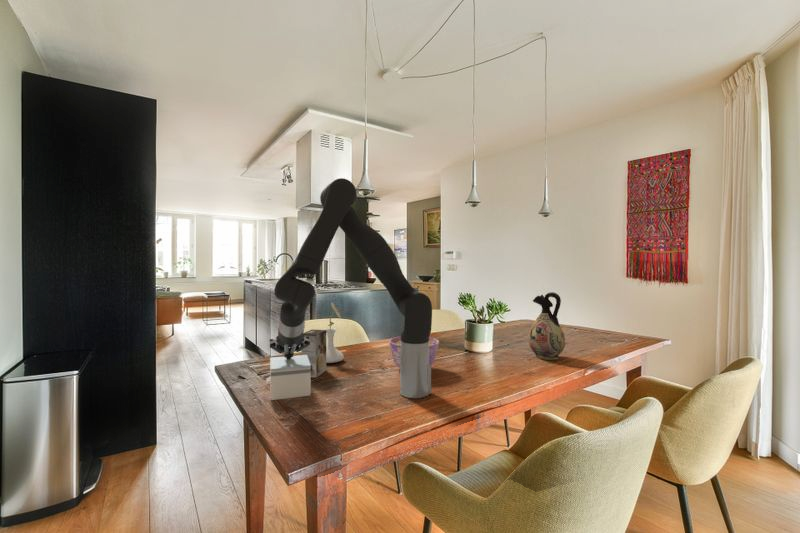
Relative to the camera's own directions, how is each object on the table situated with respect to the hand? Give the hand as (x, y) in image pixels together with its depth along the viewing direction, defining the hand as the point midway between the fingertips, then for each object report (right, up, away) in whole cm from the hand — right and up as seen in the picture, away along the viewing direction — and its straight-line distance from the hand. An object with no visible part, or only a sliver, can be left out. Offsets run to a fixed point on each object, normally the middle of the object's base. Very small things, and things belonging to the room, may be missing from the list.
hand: (288, 356), depth 121 cm
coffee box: (+5, -11, +16) cm, 20 cm away
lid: (+1, -1, -3) cm, 4 cm away
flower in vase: (+8, -11, +34) cm, 36 cm away
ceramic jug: (+104, -11, +41) cm, 113 cm away
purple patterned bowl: (+43, -11, +22) cm, 50 cm away
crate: (+1, -11, -3) cm, 11 cm away
